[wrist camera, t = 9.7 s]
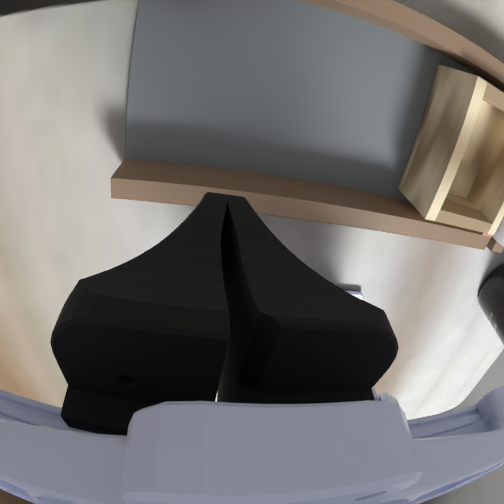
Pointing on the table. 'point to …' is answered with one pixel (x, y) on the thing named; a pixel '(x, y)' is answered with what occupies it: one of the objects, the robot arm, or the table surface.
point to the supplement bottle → (494, 300)
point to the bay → (290, 108)
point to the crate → (459, 154)
